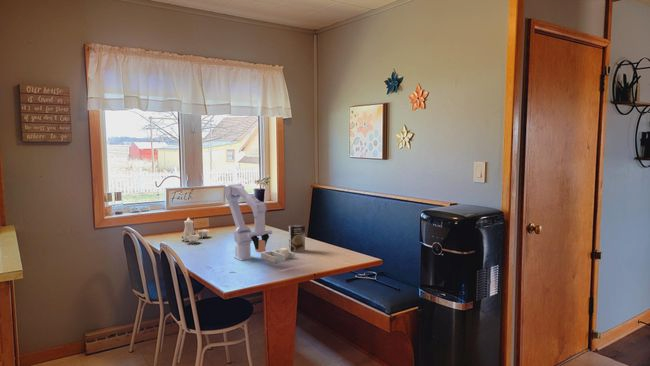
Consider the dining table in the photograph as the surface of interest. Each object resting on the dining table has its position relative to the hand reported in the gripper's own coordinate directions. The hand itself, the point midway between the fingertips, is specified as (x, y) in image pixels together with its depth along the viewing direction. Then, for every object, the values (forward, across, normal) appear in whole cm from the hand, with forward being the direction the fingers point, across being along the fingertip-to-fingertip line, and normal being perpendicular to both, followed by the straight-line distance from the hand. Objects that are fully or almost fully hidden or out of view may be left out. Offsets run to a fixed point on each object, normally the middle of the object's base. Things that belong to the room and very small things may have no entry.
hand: (260, 248), depth 242 cm
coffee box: (+9, +31, +9) cm, 33 cm away
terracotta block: (+2, 0, 0) cm, 2 cm away
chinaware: (+9, -6, +82) cm, 82 cm away
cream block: (+8, +15, 0) cm, 17 cm away
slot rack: (+8, +12, 0) cm, 15 cm away
